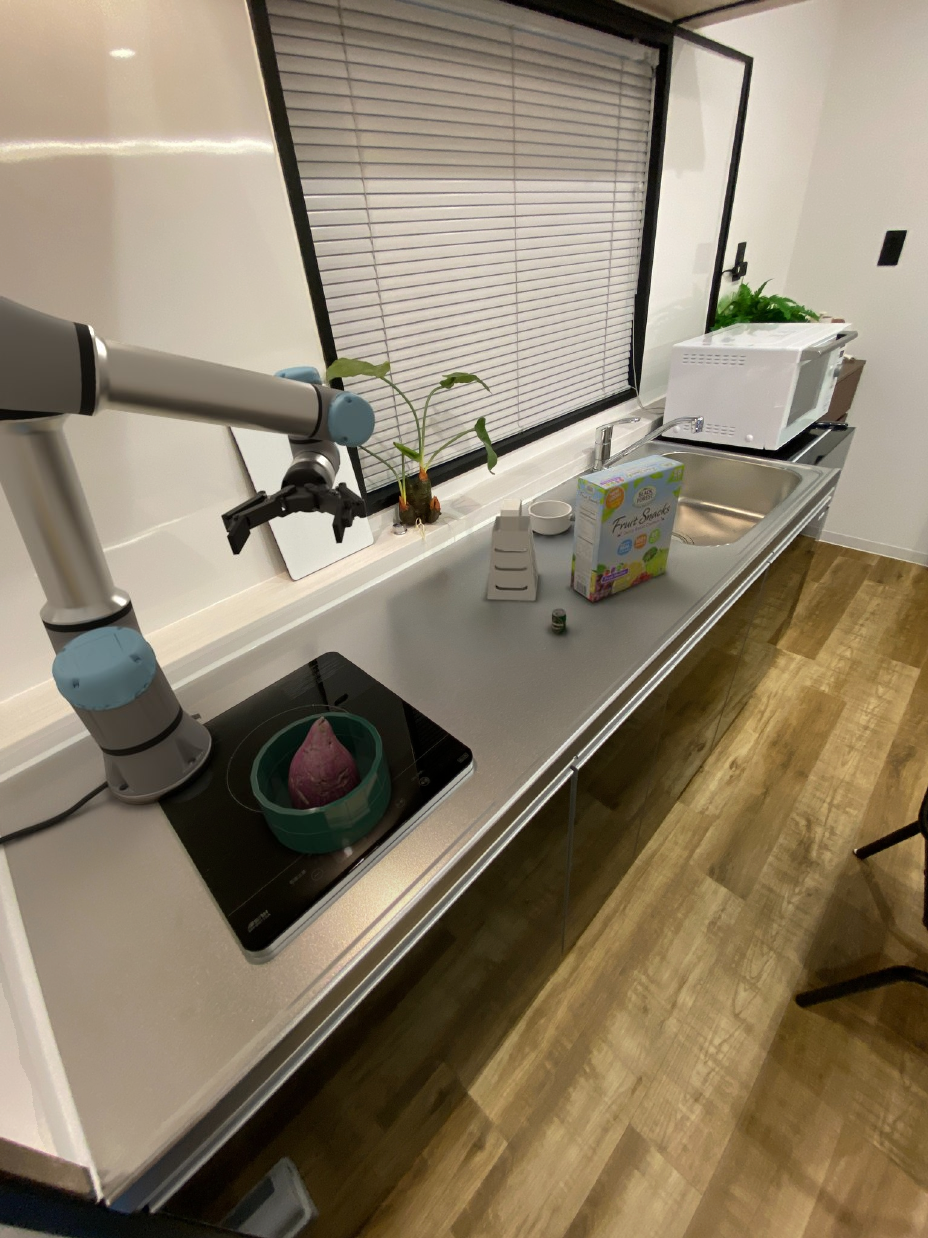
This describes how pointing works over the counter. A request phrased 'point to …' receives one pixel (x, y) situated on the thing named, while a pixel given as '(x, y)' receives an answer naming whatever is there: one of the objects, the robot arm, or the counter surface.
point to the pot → (335, 819)
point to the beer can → (558, 621)
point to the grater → (512, 554)
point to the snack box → (624, 525)
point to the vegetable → (321, 769)
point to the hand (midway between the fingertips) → (285, 539)
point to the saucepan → (550, 517)
